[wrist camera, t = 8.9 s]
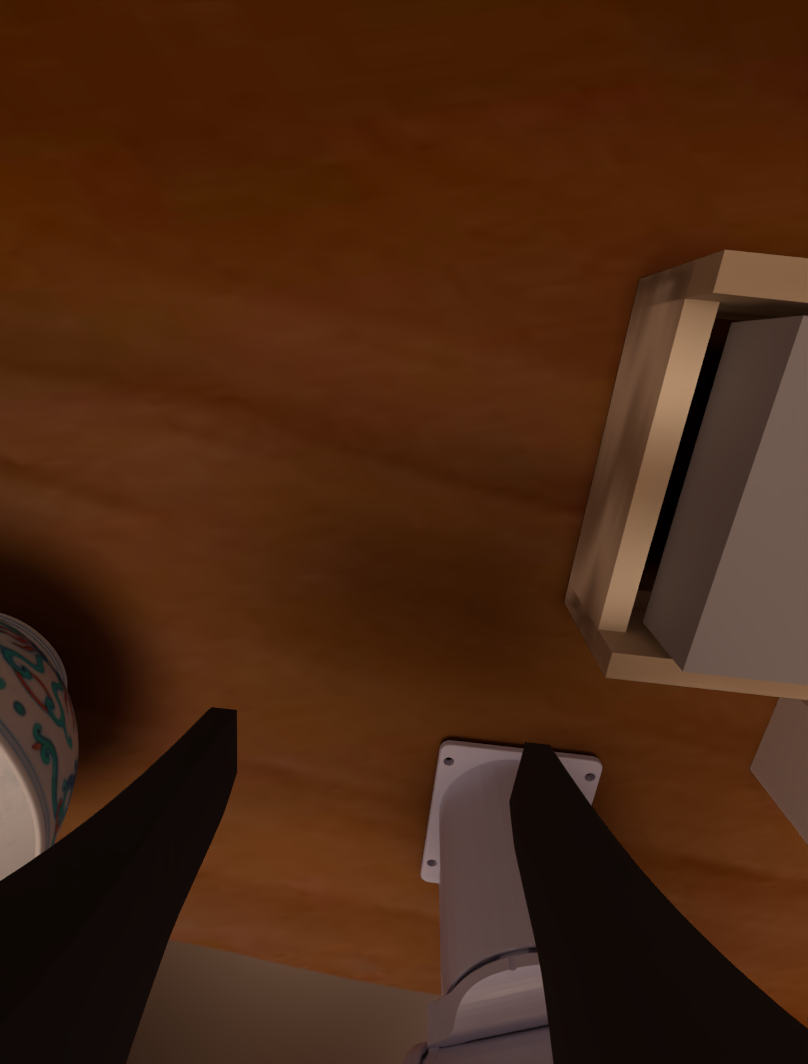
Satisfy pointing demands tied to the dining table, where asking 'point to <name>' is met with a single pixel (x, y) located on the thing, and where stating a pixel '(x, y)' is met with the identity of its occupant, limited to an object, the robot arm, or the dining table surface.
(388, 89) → the dining table surface
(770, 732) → the beige cube
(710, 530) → the trapdoor
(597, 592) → the frame
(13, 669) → the chinaware
